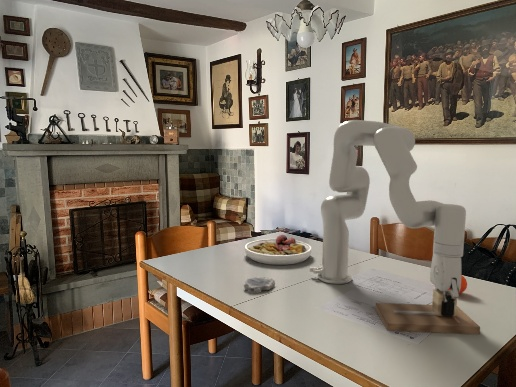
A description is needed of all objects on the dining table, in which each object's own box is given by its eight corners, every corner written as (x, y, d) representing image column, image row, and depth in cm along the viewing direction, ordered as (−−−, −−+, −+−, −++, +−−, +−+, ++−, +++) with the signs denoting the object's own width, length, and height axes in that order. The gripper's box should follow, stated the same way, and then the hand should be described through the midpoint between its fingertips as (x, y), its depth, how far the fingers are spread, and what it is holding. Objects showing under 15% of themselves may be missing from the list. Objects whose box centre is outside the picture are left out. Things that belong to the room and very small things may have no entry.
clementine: (451, 298, 127) (453, 277, 126) (436, 290, 133) (438, 270, 133) (471, 295, 129) (472, 275, 128) (455, 288, 136) (457, 269, 135)
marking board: (387, 330, 104) (387, 321, 103) (375, 309, 117) (375, 301, 117) (479, 334, 102) (480, 325, 102) (456, 312, 116) (456, 304, 115)
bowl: (309, 269, 157) (310, 250, 156) (238, 264, 162) (238, 246, 161) (312, 250, 186) (312, 234, 185) (251, 247, 191) (252, 231, 191)
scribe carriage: (437, 315, 107) (438, 294, 106) (431, 309, 111) (433, 289, 110) (458, 316, 107) (459, 295, 106) (451, 310, 111) (453, 290, 110)
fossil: (257, 288, 127) (238, 275, 134) (254, 299, 128) (235, 285, 134) (280, 283, 135) (260, 271, 142) (277, 293, 136) (258, 281, 143)
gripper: (423, 241, 115) (420, 299, 117) (446, 256, 99) (442, 324, 101) (449, 242, 115) (445, 300, 117) (476, 257, 98) (471, 325, 100)
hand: (443, 311), depth 109 cm, fingers closed on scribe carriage, 4 cm apart
